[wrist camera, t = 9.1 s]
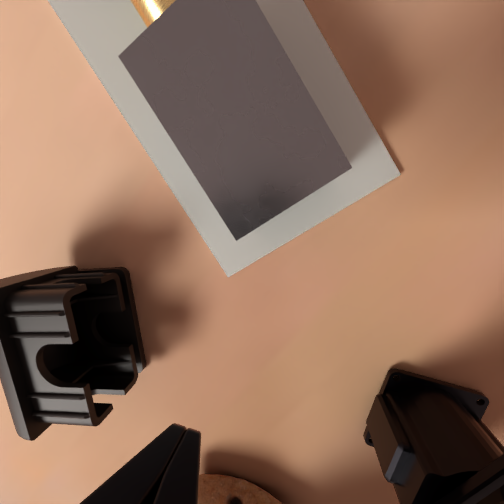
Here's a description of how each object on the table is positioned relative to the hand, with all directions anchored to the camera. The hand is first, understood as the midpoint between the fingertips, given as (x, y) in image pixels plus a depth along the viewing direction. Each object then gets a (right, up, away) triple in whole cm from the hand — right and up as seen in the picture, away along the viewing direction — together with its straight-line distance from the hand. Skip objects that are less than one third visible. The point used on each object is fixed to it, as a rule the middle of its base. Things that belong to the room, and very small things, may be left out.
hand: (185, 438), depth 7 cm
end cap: (-11, 0, +15) cm, 18 cm away
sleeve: (+2, +13, +9) cm, 16 cm away
